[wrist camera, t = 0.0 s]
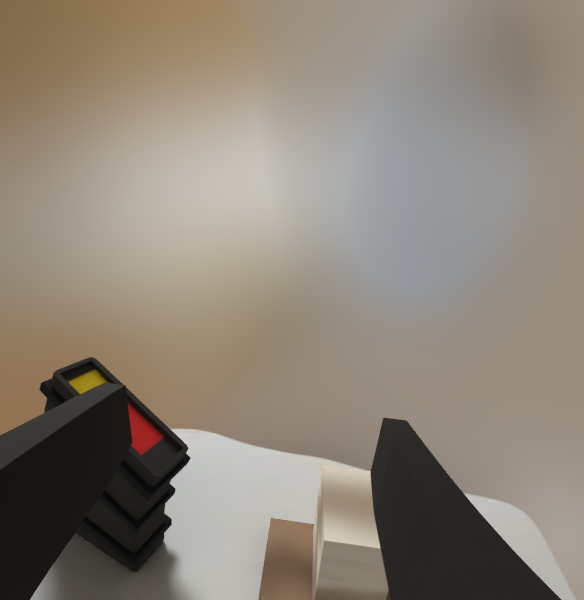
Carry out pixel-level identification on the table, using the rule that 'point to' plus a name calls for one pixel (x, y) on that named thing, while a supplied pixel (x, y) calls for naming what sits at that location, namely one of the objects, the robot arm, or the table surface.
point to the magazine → (126, 472)
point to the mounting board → (288, 562)
